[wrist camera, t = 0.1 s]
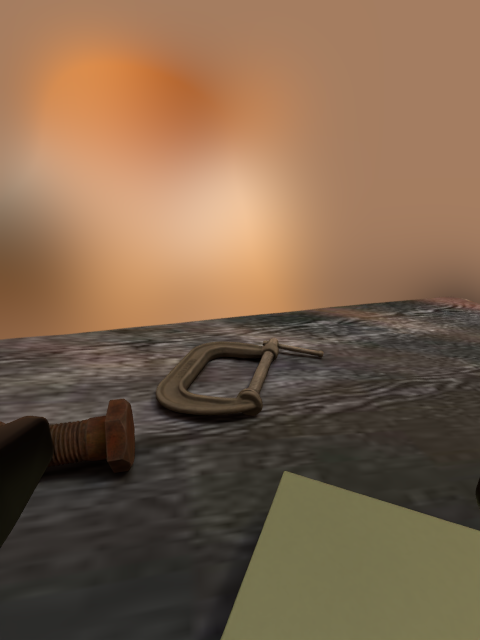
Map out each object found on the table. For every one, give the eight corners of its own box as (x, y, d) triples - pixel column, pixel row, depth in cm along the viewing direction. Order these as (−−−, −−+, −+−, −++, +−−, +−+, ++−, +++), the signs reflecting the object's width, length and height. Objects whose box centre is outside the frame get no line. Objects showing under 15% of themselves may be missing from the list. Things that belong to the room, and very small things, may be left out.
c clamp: (211, 338, 54) (211, 321, 53) (323, 356, 49) (325, 339, 48) (132, 408, 36) (130, 385, 35) (294, 449, 31) (296, 424, 30)
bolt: (-57, 494, 28) (136, 462, 31) (-106, 518, 23) (129, 478, 26) (-56, 420, 29) (132, 396, 32) (-103, 428, 24) (124, 399, 27)
